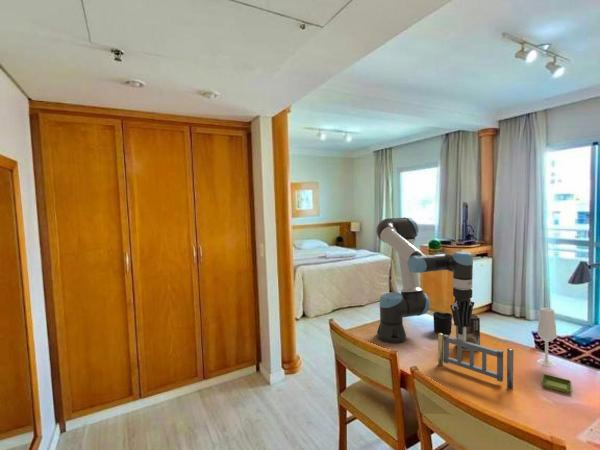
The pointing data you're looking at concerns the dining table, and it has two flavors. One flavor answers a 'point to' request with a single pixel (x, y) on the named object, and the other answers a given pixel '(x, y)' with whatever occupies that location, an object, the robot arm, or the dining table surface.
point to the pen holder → (442, 323)
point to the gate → (471, 366)
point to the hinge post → (510, 368)
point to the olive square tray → (556, 383)
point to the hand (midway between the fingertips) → (462, 340)
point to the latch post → (440, 349)
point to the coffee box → (472, 332)
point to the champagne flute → (547, 332)
